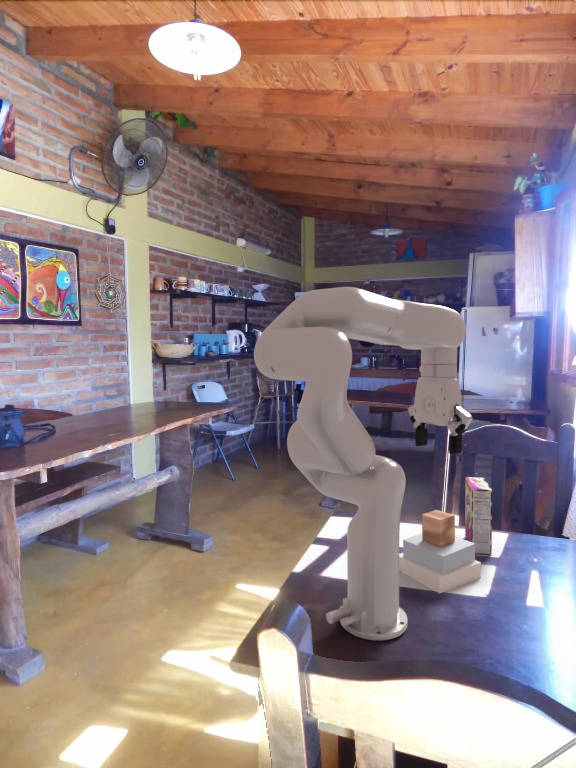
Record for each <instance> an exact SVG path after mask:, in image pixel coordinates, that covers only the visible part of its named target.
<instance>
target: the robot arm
mask: <svg viewBox="0 0 576 768" xmlns="http://www.w3.org/2000/svg"><path fill="white" fill-rule="evenodd" d="M466 332H467V326H466V323H465V319H464V318H463V316H462V315H461V314H460V313H459V312H458V311H456V310H455V309H452V308H449V307H446V306H443V305H437V304H433V303H432V304H431V303H422V302H416V301H415V302H414V301H410V300H403V299H402V300H401V299H394V298H390V297H386V296H383V295H381V294H377V293H374V292H371V291H368V290H365V289H363V288H362V289H361V288H358V287H355V286H354V287H353V286H340V287H339V286H338V287H331V288H330V287H329V288H320V289H314V290H313V289H312V290H308V291H306V292H305V293H303V294H302V295H299V296H298V297H297V298H296V299H295V300H293V301H292V302H291V303H290V304H289V305H288V306H287V307H285V309H284V310H282V312H280V314H279V315H278V316H277V317H276V318H275V319H274V320H272V322H271V323H269V325H268V326H266V328H265V329H264V330H263V331H262V332H261V333H260V335H259V336H258V339H257V340H256V342H255V345H254V351H253V358H254V359H253V360H254V363H255V365H256V368H257V369H258V371H259V373H261V374H262V375H263V376H265V377H267V378H268V379H272V380H276V381H290V382H291V381H292V382H305V385H304V386H305V387H304V388H303V392H302V397H301V400H300V403H299V405H298V409H297V416H296V417H297V420H296V421H295V422H293V423H292V425H291V427H290V428H289V430H288V433H287V437H286V438H287V439H286V447H287V452H288V455H289V458H290V460H291V462H292V463H293V465H294V466H295V467H296V468H297V469H298V471H300V473H301V474H302V475H303V476H304V477H305V478H306V479H307V481H308V482H309V483H310V484H311V485H312V486H313V487H314V488H315V489H316V490H317V491H318V492H320V494H322V495H324V496H326V497H329V498H332V499H334V500H339V501H343V502H346V503H350V504H353V505H356V506H357V507H358V509H357V511H356V513H355V514H354V515H353V516H352V519H351V520H350V521H349V523H348V526H347V531H346V533H347V534H346V536H347V537H346V538H347V539H346V540H347V541H346V543H347V545H346V548H347V554H346V556H347V571H346V572H347V597H344V598H343V599H342V605H340V606H339V608H338V609H334V610H331V611H329V612H327V613H326V614H325V618H326V621H327V622H328V624H334V623H337V622H340V625H341V627H342V628H343V629H344V630H345V631H347V632H348V633H349V634H351V635H353V636H355V637H357V638H360V639H363V640H368V641H369V640H370V641H389V640H392V639H395V638H397V637H400V636H401V635H402V634H404V633H405V632H406V630H407V629H408V626H409V625H408V622H409V621H408V616H407V613H406V612H405V611H404V609H403V608H402V607H400V571H399V554H400V529H401V528H400V527H401V526H400V525H401V524H400V523H401V522H400V521H401V513H402V505H403V500H404V496H405V495H404V494H405V489H406V474H405V472H404V469H403V467H402V466H401V465H400V464H399V463H398V462H397V461H395V460H393V458H388V457H386V456H382V455H377V454H376V446H375V444H374V442H373V439H372V437H371V435H370V434H369V433H368V431H367V429H366V428H365V426H364V425H363V424H362V422H361V421H360V419H359V417H357V415H356V413H355V412H354V411H353V409H352V407H351V406H350V404H349V402H348V398H347V396H348V394H347V393H348V392H347V391H348V386H349V385H348V384H349V379H350V374H351V369H352V363H353V351H352V345H351V343H350V341H349V340H350V339H351V340H355V341H363V342H368V343H372V344H378V345H384V346H399V347H400V348H402V349H405V350H418V351H419V350H420V366H419V368H418V369H419V372H420V377H418V378H417V379H418V380H417V383H416V387H415V391H414V393H415V394H414V403H413V405H411V406H409V407H408V408H407V411H408V415H409V417H410V421H411V423H412V424H413V425H412V426H413V429H415V432H414V433H415V436H414V437H415V446H416V447H423V446H427V445H428V427H426V426H427V425H428V424H429V425H434V426H441V427H447V428H448V430H449V433H450V435H449V437H448V453H449V454H450V455H455V454H458V455H459V454H461V453H462V451H463V450H462V447H463V446H462V443H463V435H465V433H466V431H467V430H469V428H470V425H471V422H472V421H473V416H472V415H471V414H470V413H469V412H467V411H466V410H465V409H463V404H462V392H461V385H460V380H459V378H458V377H457V376H458V347H459V346H461V345H462V344H463V343H464V340H465V338H466Z"/></svg>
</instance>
